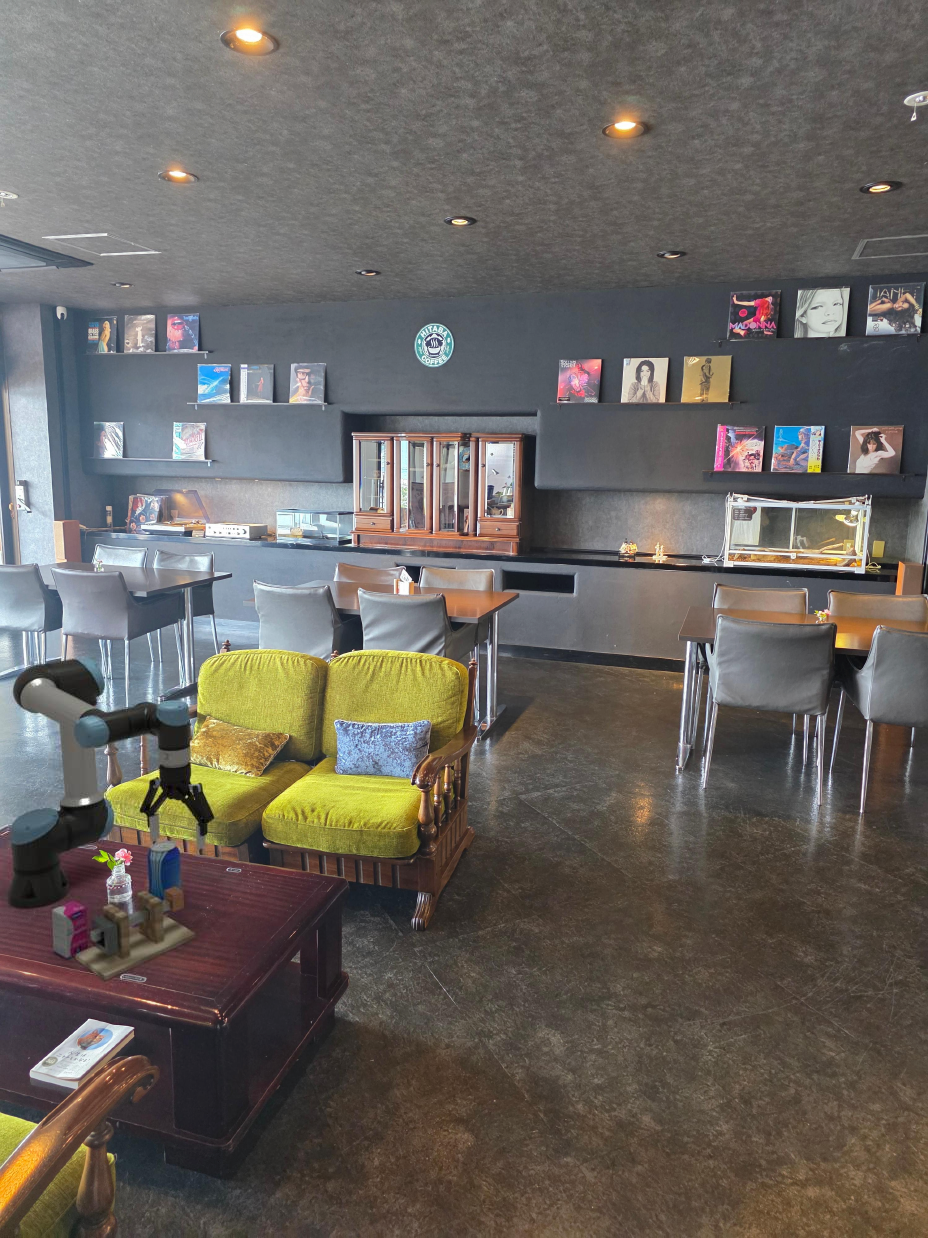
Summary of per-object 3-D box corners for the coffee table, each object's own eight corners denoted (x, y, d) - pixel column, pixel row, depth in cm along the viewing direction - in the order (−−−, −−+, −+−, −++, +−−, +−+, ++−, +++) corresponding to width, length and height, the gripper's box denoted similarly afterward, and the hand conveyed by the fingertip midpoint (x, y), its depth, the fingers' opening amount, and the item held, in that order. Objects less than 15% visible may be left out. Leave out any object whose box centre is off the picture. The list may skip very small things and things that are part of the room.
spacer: (93, 945, 197) (91, 919, 196) (102, 941, 199) (101, 915, 198) (108, 956, 193) (107, 929, 192) (118, 952, 195) (116, 924, 194)
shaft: (88, 939, 195) (87, 922, 194) (175, 902, 213) (174, 886, 212) (97, 945, 192) (96, 928, 192) (184, 907, 210) (183, 891, 210)
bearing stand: (75, 959, 198) (72, 913, 196) (164, 919, 217) (162, 877, 215) (105, 981, 189) (103, 933, 188) (195, 938, 208) (194, 894, 206)
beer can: (171, 909, 222) (168, 854, 219) (143, 905, 224) (140, 850, 221) (187, 894, 230) (185, 841, 227) (160, 891, 232) (158, 838, 229)
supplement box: (67, 960, 197) (64, 916, 195) (53, 953, 200) (50, 909, 198) (89, 949, 202) (87, 906, 200) (75, 942, 205) (72, 899, 203)
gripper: (122, 762, 203) (126, 842, 207) (209, 773, 196) (212, 856, 200) (142, 753, 210) (145, 830, 214) (227, 764, 203) (229, 844, 207)
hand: (177, 843), depth 207 cm, fingers open, 13 cm apart
